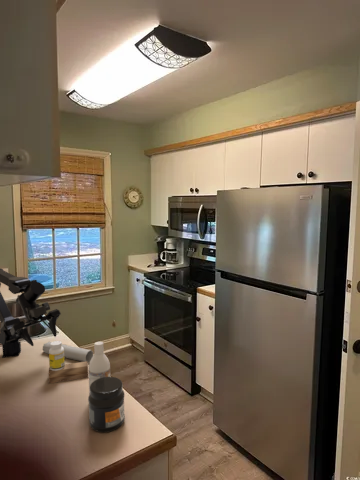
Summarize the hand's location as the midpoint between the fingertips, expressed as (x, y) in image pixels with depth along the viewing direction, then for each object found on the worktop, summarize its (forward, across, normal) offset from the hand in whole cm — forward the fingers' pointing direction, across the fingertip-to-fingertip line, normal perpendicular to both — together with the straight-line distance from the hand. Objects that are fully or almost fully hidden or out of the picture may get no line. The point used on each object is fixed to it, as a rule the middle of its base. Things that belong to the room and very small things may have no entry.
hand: (44, 341), depth 130 cm
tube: (+8, +10, +12) cm, 17 cm away
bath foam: (+30, +1, -20) cm, 36 cm away
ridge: (+17, +2, -2) cm, 17 cm away
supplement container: (+36, -4, -29) cm, 47 cm away
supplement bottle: (+12, -1, -3) cm, 12 cm away
